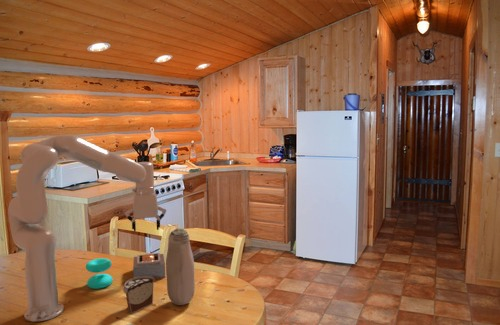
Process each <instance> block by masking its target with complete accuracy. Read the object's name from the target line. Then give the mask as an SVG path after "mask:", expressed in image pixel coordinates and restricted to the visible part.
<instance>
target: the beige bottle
mask: <svg viewBox="0 0 500 325" xmlns="http://www.w3.org/2000/svg"><path fill="white" fill-rule="evenodd" d="M167 242H168V245H167V252H166V258H165V277H166V289H167V290H166V291H167V295H168V298H169V300H170V301H171V302H172V303H173V304H174V305H177V306H185V305H187V304H189V303H190V302H191V301H192V299H193V298H194V296H195V288H196V287H195V285H196V284H195V282H196V281H195V259H194V254H193V251H192V247H191V242H190V236H189V233H188V231H187V230H186V229H184V228H175V229H173V230H171V232H170V233H169V236H168V241H167Z"/></svg>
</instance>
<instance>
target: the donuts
mask: <svg viewBox="0 0 500 325" xmlns="http://www.w3.org/2000/svg"><path fill="white" fill-rule="evenodd" d="M112 265H113V264H112V260H110V259H109V258H105V257H101V258H95V259H91V260H89V261H88V262H87V263H86V264H85V269H86V270H87V271H88V272H90V273H94V275H91V276H90V277H89V278H88V279H87V282H86V285H87V287H89V289H92V290H93V289H94V290H98V289H103V288H107V287H109V286H110V285H111V284H112V283H113V280H114V278H113V277H112V276H111V275H110V274H108V273H103V272H105V271H108V270H109V269H110V268H111V267H112ZM96 273H97V274H96Z"/></svg>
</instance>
